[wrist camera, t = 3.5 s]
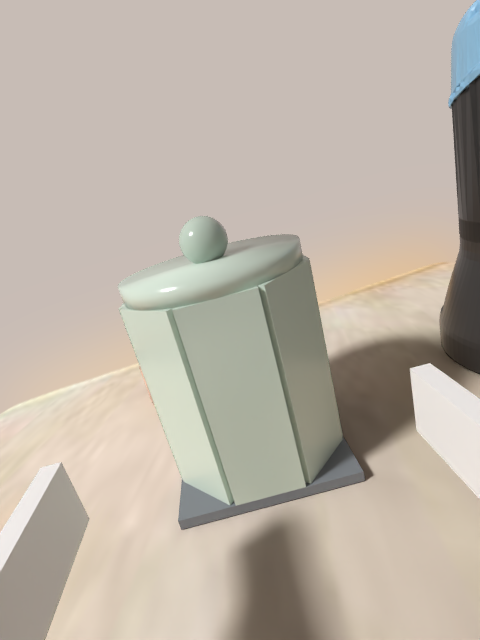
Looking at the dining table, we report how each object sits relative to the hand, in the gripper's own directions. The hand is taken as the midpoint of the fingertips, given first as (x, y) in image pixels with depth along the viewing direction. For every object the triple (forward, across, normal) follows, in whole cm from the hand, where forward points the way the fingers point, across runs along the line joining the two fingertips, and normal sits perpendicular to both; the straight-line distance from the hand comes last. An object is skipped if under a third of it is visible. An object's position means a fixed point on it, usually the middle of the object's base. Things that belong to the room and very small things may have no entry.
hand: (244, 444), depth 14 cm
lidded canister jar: (+9, 0, -6) cm, 11 cm away
